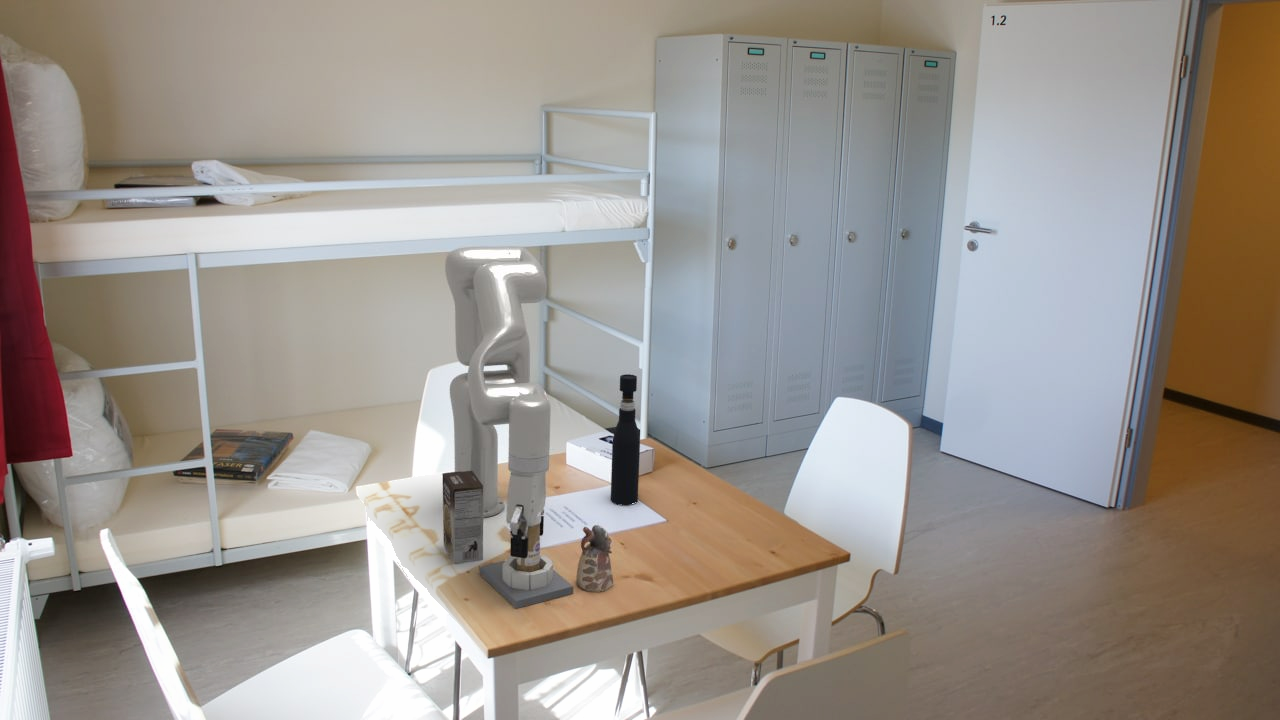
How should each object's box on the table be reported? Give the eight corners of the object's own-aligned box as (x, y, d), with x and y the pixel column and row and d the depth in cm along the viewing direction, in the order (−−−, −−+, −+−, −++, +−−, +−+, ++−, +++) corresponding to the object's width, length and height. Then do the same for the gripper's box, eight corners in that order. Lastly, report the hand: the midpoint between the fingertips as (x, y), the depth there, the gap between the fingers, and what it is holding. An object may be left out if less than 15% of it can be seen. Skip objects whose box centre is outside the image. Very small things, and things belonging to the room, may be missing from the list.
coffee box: (442, 546, 207) (441, 472, 203) (472, 541, 210) (472, 469, 206) (452, 564, 199) (451, 488, 195) (484, 560, 202) (484, 484, 197)
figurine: (616, 591, 191) (618, 532, 188) (579, 593, 190) (580, 534, 187) (609, 574, 198) (611, 517, 195) (574, 576, 196) (575, 519, 193)
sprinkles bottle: (535, 584, 189) (536, 518, 186) (512, 581, 190) (513, 515, 187) (543, 573, 193) (544, 508, 190) (520, 570, 194) (521, 505, 191)
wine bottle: (617, 507, 230) (622, 381, 223) (605, 497, 236) (609, 374, 228) (642, 503, 233) (647, 378, 226) (630, 493, 239) (634, 371, 231)
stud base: (479, 573, 196) (479, 552, 195) (533, 560, 202) (534, 539, 201) (515, 608, 183) (516, 586, 182) (573, 593, 189) (573, 571, 188)
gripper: (524, 443, 194) (522, 523, 199) (493, 475, 178) (492, 563, 183) (561, 447, 193) (559, 528, 198) (534, 480, 177) (532, 568, 181)
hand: (527, 545), depth 190 cm, fingers open, 9 cm apart
